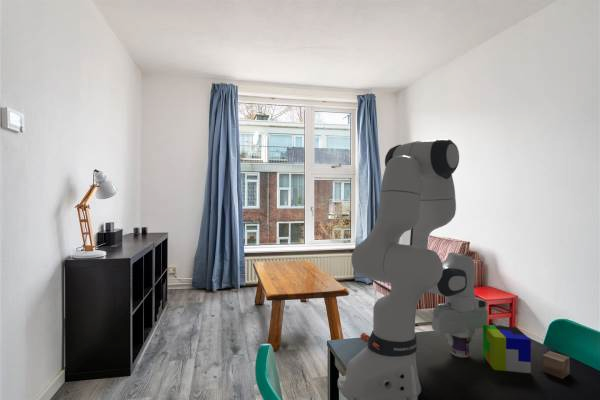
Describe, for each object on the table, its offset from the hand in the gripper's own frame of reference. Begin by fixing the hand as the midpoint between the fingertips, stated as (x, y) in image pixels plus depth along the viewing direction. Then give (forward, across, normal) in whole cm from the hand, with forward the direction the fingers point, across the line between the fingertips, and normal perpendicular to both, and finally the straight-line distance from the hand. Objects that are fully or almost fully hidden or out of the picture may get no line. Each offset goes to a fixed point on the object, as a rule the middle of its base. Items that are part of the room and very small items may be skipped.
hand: (459, 343), depth 113 cm
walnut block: (+4, +18, -19) cm, 26 cm away
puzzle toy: (+4, +9, -10) cm, 14 cm away
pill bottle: (+4, 0, 0) cm, 4 cm away
